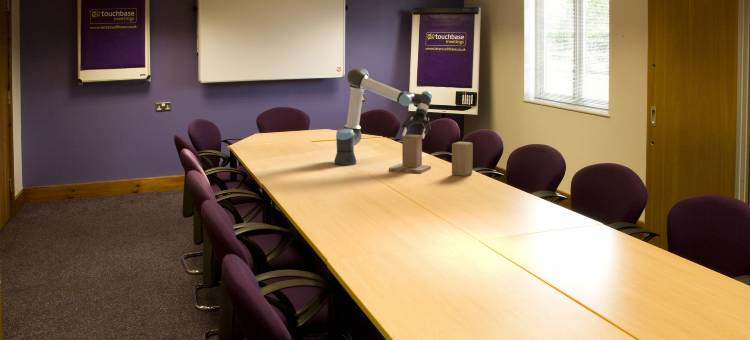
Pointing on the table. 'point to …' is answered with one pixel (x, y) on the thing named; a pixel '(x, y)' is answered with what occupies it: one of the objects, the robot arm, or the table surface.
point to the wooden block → (412, 151)
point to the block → (462, 158)
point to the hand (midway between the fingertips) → (412, 137)
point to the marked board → (409, 169)
